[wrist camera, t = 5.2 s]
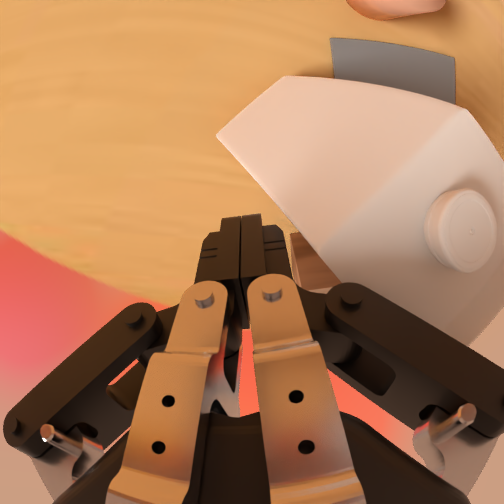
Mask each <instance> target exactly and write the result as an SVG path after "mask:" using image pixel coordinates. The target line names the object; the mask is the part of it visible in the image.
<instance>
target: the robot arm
mask: <svg viewBox="0 0 504 504" xmlns="http://www.w3.org/2000/svg"><path fill="white" fill-rule="evenodd" d="M250 324H251V331H252V339H253V347H254V351H253V360H254V369H255V377H256V386H257V394H258V402H259V410H260V412H256V413H253V414H250V415H246V416H242V417H240V408H239V398H238V396H239V384H240V372H241V362H242V350H243V347H242V329H250ZM135 359H137V360H138V361H139V362H138V363H137V364H136V365H135V366H133V367H132V368H131V369H130V370H129V371H128V372H127V373H126V374H125V375H124V376H123V377H121V378H120V379H119V380H118V381H117V382H116V383H115V384H113V385H108V384H109V383H110V382H111V381H112V380H113V379H114V378H115V377H117V376H118V375H119V374H120V373H121V372H122V371H123V370H124V369H125V368H127V367H128V366H129V365H130V364H131V363H132V362H133V361H134V360H135ZM327 369H329V370H330V371H332V372H333V373H334V374H335V375H337V376H338V377H339V378H341V379H342V380H343V381H345V382H346V383H347V384H349V385H350V386H351V387H353V388H354V389H356V390H357V391H358V392H360V393H361V394H362V395H364V396H365V397H367V398H368V399H369V400H371V401H372V402H374V403H375V404H376V405H378V406H379V407H381V408H382V409H383V410H385V411H386V412H388V413H389V414H391V415H392V416H394V417H395V418H396V419H398V420H400V421H401V422H402V423H404V424H405V425H407V426H408V427H410V428H411V429H413V430H414V434H413V446H414V449H415V451H416V452H417V454H418V455H420V456H421V457H422V458H423V460H424V461H425V463H426V467H427V468H426V467H424V466H423V465H421V464H420V463H419V462H417V461H416V460H415V459H413V458H411V457H410V456H409V455H408V454H406V453H405V452H403V451H402V450H401V449H399V448H398V447H397V446H395V445H394V444H393V443H391V442H390V441H389V440H387V439H386V438H385V437H383V436H382V435H381V434H380V433H378V432H377V431H375V430H374V429H373V428H372V427H371V426H369V425H368V424H367V423H365V422H364V421H362V420H360V419H359V418H357V417H354V416H352V415H350V414H347V413H344V412H341V411H339V409H338V406H337V402H336V399H335V395H334V391H333V388H332V384H331V381H330V378H329V374H328V371H327ZM130 426H131V428H130V430H129V431H128V432H127V433H126V434H125V435H123V437H122V438H120V439H119V440H118V441H117V442H116V443H115V444H114V445H113V446H112V447H111V448H110V449H109V450H108V451H107V452H106V453H105V454H104V452H103V450H105V448H107V447H108V446H109V445H110V444H111V443H112V442H113V441H114V440H115V439H117V438H118V437H119V436H120V435H121V434H122V433H123V432H124V431H125V430H127V429H128V428H129V427H130ZM3 432H4V437H5V439H6V441H7V443H8V444H9V445H10V446H12V447H14V448H16V449H17V450H19V451H21V452H23V453H25V454H27V455H28V456H29V457H30V458H31V459H32V461H33V463H34V465H35V467H36V469H37V471H38V473H39V475H40V477H41V479H42V481H43V483H44V484H45V486H46V488H47V490H48V491H49V493H50V495H51V496H52V498H53V500H54V503H53V504H471V503H470V501H469V499H468V498H467V495H468V494H469V492H470V490H471V489H472V487H473V485H474V484H475V482H476V480H477V479H478V477H479V475H480V474H481V472H482V470H483V468H484V466H485V464H486V462H487V460H488V458H489V457H490V454H491V452H492V450H493V448H494V446H495V444H496V442H497V439H498V437H499V436H500V435H501V434H502V433H504V369H502V368H501V367H499V366H498V365H496V364H494V363H493V362H491V361H490V360H488V359H487V358H485V357H483V356H482V355H480V354H479V353H477V352H475V351H474V350H472V349H470V348H469V347H467V346H466V345H464V344H462V343H461V342H459V341H457V340H456V339H454V338H453V337H451V336H449V335H448V334H446V333H444V332H443V331H441V330H439V329H438V328H436V327H434V326H433V325H431V324H429V323H428V322H426V321H424V320H422V319H421V318H419V317H417V316H416V315H414V314H412V313H411V312H409V311H407V310H405V309H404V308H402V307H400V306H399V305H397V304H395V303H393V302H392V301H390V300H388V299H386V298H385V297H383V296H381V295H379V294H378V293H376V292H374V291H372V290H371V289H369V288H367V287H365V286H363V285H361V284H358V283H353V282H345V283H341V284H338V285H336V286H334V287H332V288H331V289H330V290H329V291H328V293H327V294H324V293H315V292H310V291H307V290H305V289H303V288H301V287H299V286H298V285H297V284H296V283H295V281H294V280H293V277H292V273H291V268H290V263H289V258H288V253H287V249H286V243H285V239H284V234H283V231H282V230H281V229H280V228H279V227H278V226H277V225H267V226H262V219H261V213H260V214H252V215H244V216H242V218H241V216H237V217H229V218H222V220H221V227H220V231H219V232H212V233H209V235H208V236H207V237H206V238H205V239H204V241H203V244H202V248H201V253H200V259H199V263H198V267H197V272H196V277H195V282H194V285H192V286H191V287H189V288H188V289H187V290H186V291H185V292H184V294H183V295H182V298H181V301H180V304H178V305H176V306H173V307H170V308H167V309H164V310H161V311H158V312H156V310H155V309H154V307H153V306H152V305H150V304H148V303H135V304H132V305H130V306H128V307H126V308H125V309H124V310H123V311H121V312H120V313H119V314H118V315H117V316H115V317H114V318H113V319H112V320H111V321H109V322H108V323H107V324H106V325H104V326H103V327H102V328H101V329H100V330H99V331H97V332H96V333H95V334H94V335H93V336H92V337H90V338H89V339H88V340H87V341H86V342H85V343H84V344H82V345H81V346H80V347H79V348H78V349H77V350H75V351H74V352H73V353H72V354H71V355H70V356H69V357H68V358H66V359H65V360H64V361H63V362H62V363H61V364H60V365H59V366H58V367H56V368H55V369H54V370H53V371H52V372H51V373H50V374H49V375H47V376H46V377H45V378H44V379H43V380H42V381H41V382H40V383H39V384H38V385H37V386H36V387H35V388H33V389H32V390H31V391H30V392H29V393H28V394H27V395H26V396H25V397H24V398H23V399H22V400H21V401H20V402H19V403H17V405H15V406H14V407H13V408H12V409H11V410H10V411H9V412H8V414H7V415H6V418H5V420H4V425H3Z"/></svg>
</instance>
